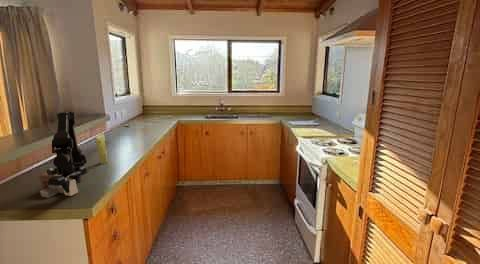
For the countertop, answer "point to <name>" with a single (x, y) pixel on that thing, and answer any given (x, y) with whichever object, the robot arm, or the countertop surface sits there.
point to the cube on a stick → (71, 188)
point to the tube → (101, 148)
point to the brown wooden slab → (45, 177)
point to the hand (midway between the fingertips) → (71, 190)
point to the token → (49, 192)
